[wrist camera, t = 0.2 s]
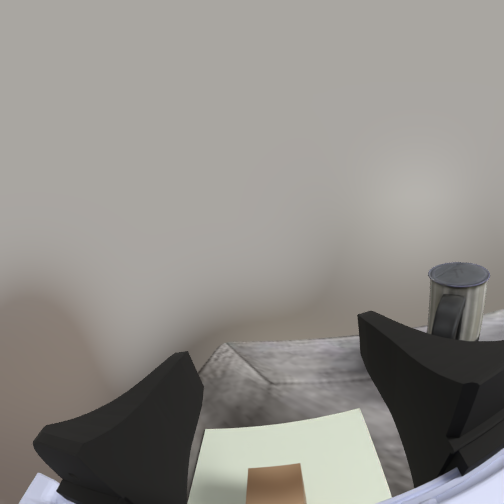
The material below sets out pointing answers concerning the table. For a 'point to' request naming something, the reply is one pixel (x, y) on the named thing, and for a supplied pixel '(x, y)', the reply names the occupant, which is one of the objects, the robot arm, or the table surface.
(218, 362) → the table surface
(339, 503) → the sage mat
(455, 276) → the milk frother
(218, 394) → the table surface
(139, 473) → the robot arm
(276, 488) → the walnut block
